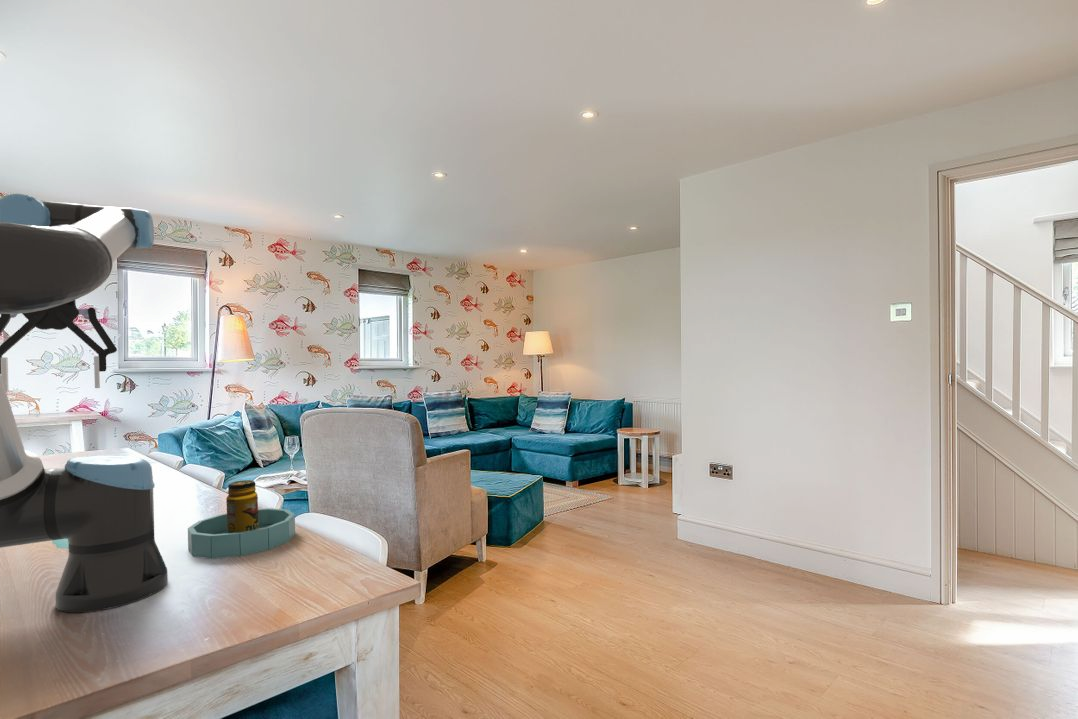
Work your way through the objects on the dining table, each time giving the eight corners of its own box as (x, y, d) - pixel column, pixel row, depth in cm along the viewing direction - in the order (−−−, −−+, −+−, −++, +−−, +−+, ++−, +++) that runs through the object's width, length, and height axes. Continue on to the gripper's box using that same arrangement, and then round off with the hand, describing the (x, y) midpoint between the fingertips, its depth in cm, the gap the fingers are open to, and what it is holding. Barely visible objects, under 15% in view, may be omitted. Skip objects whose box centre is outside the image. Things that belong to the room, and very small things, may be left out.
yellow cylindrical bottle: (264, 536, 120) (263, 481, 120) (220, 546, 114) (219, 488, 114) (254, 529, 125) (253, 477, 125) (212, 538, 119) (210, 483, 119)
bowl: (305, 541, 119) (304, 520, 119) (198, 565, 106) (197, 542, 106) (279, 522, 134) (279, 503, 134) (183, 541, 121) (182, 521, 121)
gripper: (127, 288, 119) (130, 386, 119) (-38, 280, 103) (-35, 393, 103) (130, 284, 113) (132, 386, 113) (-45, 274, 97) (-42, 394, 97)
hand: (53, 390), depth 108 cm, fingers open, 13 cm apart
